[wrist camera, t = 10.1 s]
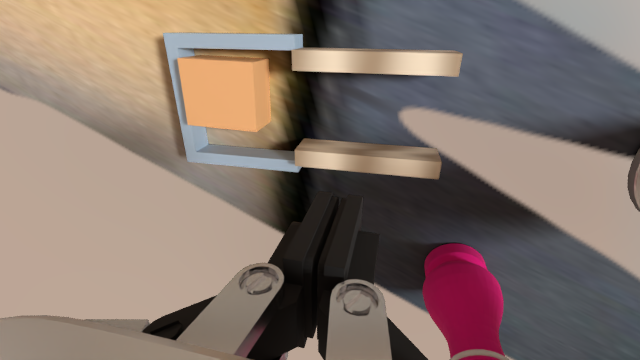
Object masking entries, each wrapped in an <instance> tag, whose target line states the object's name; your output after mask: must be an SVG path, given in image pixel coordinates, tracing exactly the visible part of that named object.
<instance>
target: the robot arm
mask: <svg viewBox="0 0 640 360" xmlns="http://www.w3.org/2000/svg"><path fill="white" fill-rule="evenodd" d="M628 190H629V195H630V199H631V200H632V202H633V203H634V205H635V207H636V208H637V209H638V210H639V211H640V148H639V150H638V152H637V154H636V156H635V157H634V159H633V161H632V164H631V167H630V171H629V174H628ZM338 203H339V199H338V197H334V194H333V193H330V192H321V191H319V192H318V193H317V195H316V197H315V199H314V201H313V202H312V204H311V206H310V208H309V210H308V212H307V214H306V216H305V217H304V219H303V221H302V223H300V222H292V223H291V224H290V226H289V228H288V229H287V231H286V233H285V235H284V236H283V238H282V240H281V241H280V243H279V245H278V246H277V248H276V250H275V252H274V253H273V255H272V257H271V258H270V260H269V262H268V263H257V264H253V265H249V266H247V267H245V268H243V269H242V270H241V271H240V272H238V273H237V275H236V276H235V277H234V278H233V279H232V280H231V281H230V282H229V283H228V284H227V285H226V286H225V287H224V289H223V290H222V291H221V292H220V293H219V294H218V295H216V296H214V297H211V298H209V299H206V300H204V301H201V302H199V303H196V304H193V305H191V306H189V307H186V308H183V309H181V310H178V311H176V312H173V313H171V314H168V315H165V316H163V317H161V318H159V319H157V320H155V321H154V322H152V323H151V324H149V321H148V320H127V319H126V320H124V319H123V320H122V319H121V320H119V319H115V320H114V319H111V320H109V319H107V320H105V319H103V320H101V319H97V320H95V319H94V320H93V319H91V320H90V319H86V320H81V319H75V318H69V317H59V316H47V315H42V316H16V317H8V318H1V319H0V360H287V357H288V351H290V350H292V349H294V348H296V347H302V348H304V347H305V343H306V340H307V337H309V338H313V336H314V333H315V330H316V327H317V339H318V340H319V341H318V342H319V344H318V350H319V353H320V354H321V356H322V358H323V359H324V360H428V359H427V358H426V357H425V356H424V355H423V354H422V353H421V352H420V351H419V349H418V348H417V347H416V346H415V345H414V344H413V343H412V342H411V341H410V340H409V339H408V338H407V337H406V336H405V335H404V334H403V333H402V332H401V331H400V330H399V329H398V328H397V327H396V326H395V325H394V323H393V322H391V320H390V319H389V318H388V317H387V315H386V307H385V300H384V297H383V294H382V293H381V291H380V290H379V289H378V288H377V287H376V286H374V279H375V271H376V262H377V253H378V244H379V235H380V234H377V233H370V232H363V231H361V223H362V209H363V196H355V195H348V197H347V198H342V200H341V203H340V205H339V208H338Z"/></svg>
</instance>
